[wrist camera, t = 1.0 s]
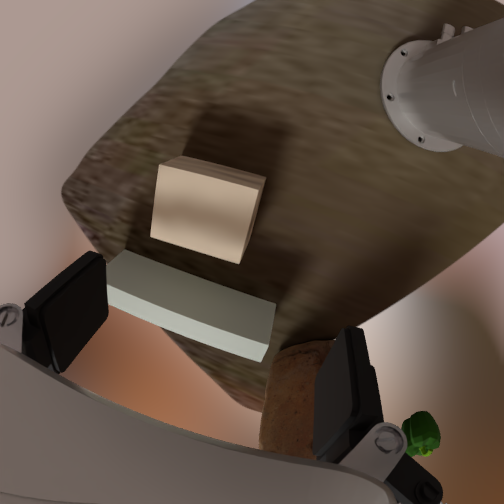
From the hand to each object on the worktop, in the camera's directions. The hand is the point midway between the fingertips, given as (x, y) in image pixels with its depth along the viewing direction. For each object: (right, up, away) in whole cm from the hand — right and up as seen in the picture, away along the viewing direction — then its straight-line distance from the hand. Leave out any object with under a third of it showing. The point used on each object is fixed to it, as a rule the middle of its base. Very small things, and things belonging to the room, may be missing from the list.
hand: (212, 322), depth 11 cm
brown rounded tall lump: (+10, -13, +32) cm, 36 cm away
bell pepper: (+34, -30, +36) cm, 58 cm away
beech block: (-3, +9, +24) cm, 25 cm away
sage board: (-6, -2, +29) cm, 30 cm away
